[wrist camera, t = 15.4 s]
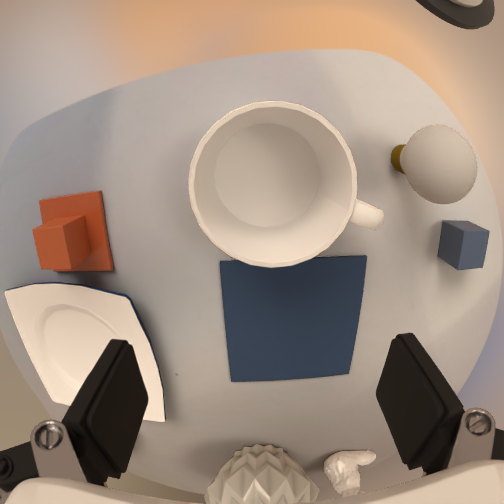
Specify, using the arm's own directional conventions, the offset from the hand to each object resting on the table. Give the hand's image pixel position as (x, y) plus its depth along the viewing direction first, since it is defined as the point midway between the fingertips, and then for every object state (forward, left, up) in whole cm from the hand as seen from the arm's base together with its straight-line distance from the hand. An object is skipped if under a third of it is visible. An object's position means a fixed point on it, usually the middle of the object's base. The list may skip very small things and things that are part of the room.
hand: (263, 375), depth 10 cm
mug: (-5, +3, -18) cm, 19 cm away
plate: (+14, -21, -18) cm, 31 cm away
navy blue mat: (+10, +4, -18) cm, 21 cm away
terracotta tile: (-1, -18, -18) cm, 26 cm away
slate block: (+1, +22, -18) cm, 28 cm away
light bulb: (-7, +14, -18) cm, 24 cm away
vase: (+36, 0, -18) cm, 40 cm away
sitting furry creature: (+40, +14, -18) cm, 46 cm away
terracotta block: (-1, -18, -18) cm, 25 cm away
